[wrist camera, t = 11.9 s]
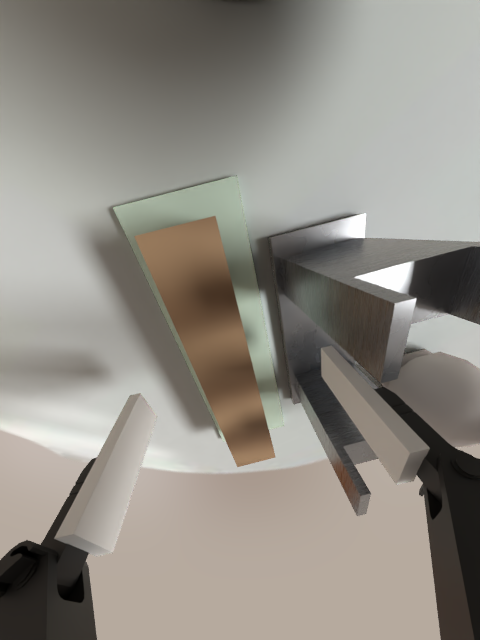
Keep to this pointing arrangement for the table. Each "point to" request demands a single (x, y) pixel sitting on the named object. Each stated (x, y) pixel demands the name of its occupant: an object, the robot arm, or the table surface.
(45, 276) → the table surface
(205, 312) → the rail
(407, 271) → the rack
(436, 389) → the potion bottle
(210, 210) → the mat
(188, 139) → the table surface
